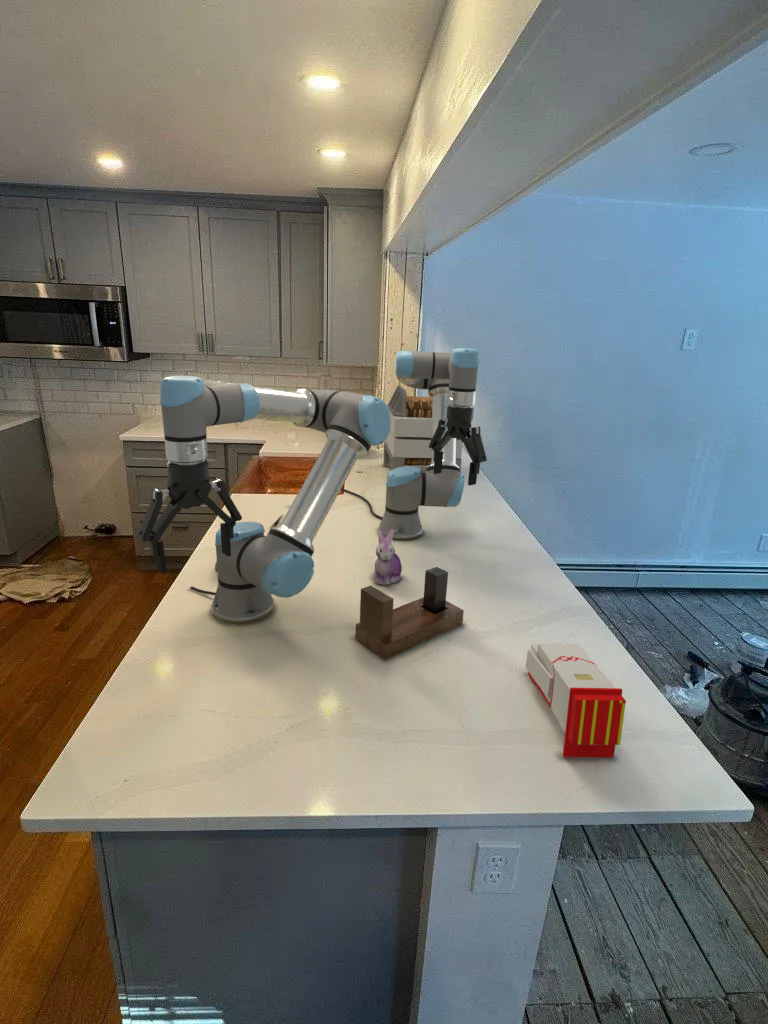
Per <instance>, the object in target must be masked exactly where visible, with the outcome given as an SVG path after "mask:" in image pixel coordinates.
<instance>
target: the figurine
mask: <svg viewBox="0 0 768 1024" xmlns="http://www.w3.org/2000/svg"><path fill="white" fill-rule="evenodd" d="M393 533H394V531H393V529H391V530H390V531H389V533H388V534H387V536H384V534H383V532H382V531H381V530H380V531H379V530H378V533H377V536H378V544H377V546H376V549H375V554H376V555H375V556H376V557H377V558H376V560H375V562H374V573H373V579H374V582H375V584H379V585H384V586H387V585H389V584H395V583H397V582H398V581H399V580H400V579H401V576H402V575H401V574H402V569H403V567H402V562H401V558H400V557H399V555H398V554H397V553H396V548H395V547H394V544H393V539H392V538H393Z"/></svg>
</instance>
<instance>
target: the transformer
mask: <svg viewBox="0 0 768 1024" xmlns="http://www.w3.org/2000/svg"><path fill="white" fill-rule="evenodd" d="M407 394H408V393H407V390H406V389H404V388H403V387H402V385H399V384H398V385H397V386H396V388H395V390H394V392H393V394H392V395H391V398H390V400H389V402H388V404H386V405H387V406H388V408H389V411H390V419H391V427H390V431H389V434H388V437H387V439H386V440H385V441H384V442H383V466H384V467H388V468H389V472H390V471H391V470H392V469H395V468H398V467H405V466H413V467H428V466H429V465H430V464H431V448H429V444H430V442H431V440H432V398H431V397H430V396H415V395H414V396H413V395H412V396H411V395H407ZM463 444H464V443H463V442H462V441H461V440H458V439H456V465H457V466H458V467H459V468H460V474H461V473H462V461H463V460H462V453H463Z"/></svg>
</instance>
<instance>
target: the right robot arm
mask: <svg viewBox="0 0 768 1024" xmlns="http://www.w3.org/2000/svg"><path fill="white" fill-rule="evenodd" d="M479 365H480V351H479V350H478V349H477V348H471V347H469V348H468V347H455V348H453V349H452V350H451V352H442V351H441V352H437V351H415V350H399V351H398V352H396V358H395V376H396V378H397V380H398V382H400V384H402V385H405V386H407V387H408V388H413V389H417V390H427V391H428V392H427V393H428V395H427V396H428V397H431V398H432V440H431V442H430V444H429V448H431V464H430V465H428V466H426V472H424V471H423V472H422V469H421V468H420V467H419V466H407V465H404V467H398V468H395V469H392V470H391V471H390V470H389V471H388V473H387V475H386V482H385V486H386V488H385V489H386V490H385V504H384V505H385V507H384V508H385V509H384V513H383V515H382V516H380V515H378V514H376V513H375V512H374V511H373V507H372V504H371V503H370V501H369V500H368V499H367V498H365V497H364V496H362V495H360V494H358V493H356V492H353V491H351V490H348V489H345V488H343V487H342V488H341V490H340V491H343V492H346V493H348V494H351V495H353V496H356V497H358V498H360V499H362V500H363V501H364V502H366V504H367V505H368V507H369V511H370V513H371V515H372V516H374V517H376V518H378V519H380V520H381V522H379V525H378V532H379V531H380V530H381V531H382V532H383V534H384V536H387V534H388V533H389V531H390V530H391V529H393V531H394V533H393V538H392V540H395V541H410V540H415V539H418V538H420V537H421V536H422V535H423V525H422V524H421V518H420V515H419V507H436V508H437V507H438V508H455V507H457V506H459V505H460V503H461V501H462V498H463V493H464V488H465V480H466V479H465V474H464V473H462V472H461V474H460V468H459V467H458V466H457V465H456V439H458V440H461V441H462V442H463V443H462V444H463V445H464V447H465V449H466V451H467V454H468V455H469V458H470V459H471V462H469V467H468V468H469V470H468V479H467V486H475V485H477V478H478V475H479V473H480V468H481V463H485V462H487V461H488V458H487V454H486V450H485V447H484V443H483V440H482V435H481V427H480V426H472V422H473V420H474V415H475V408H474V407H473V406H475V404H476V395H477V394H476V392H477V381H478V373H479Z"/></svg>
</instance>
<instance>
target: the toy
mask: <svg viewBox="0 0 768 1024" xmlns="http://www.w3.org/2000/svg"><path fill="white" fill-rule="evenodd" d="M525 669H526V671H527V675H528V676H529V678H530V680H531V681H532V683H533V684H534V685H535V687H536V688H537V690H538V692H539V693H540V694H541V696H542V698H543V699H544V701H545V702H546V703H547V705H548V707H549V708H550V710H551V711H552V714H554V717H555V719H556V720H557V722H558V724H559V725H560V727H561V729H562V731H563V732H564V740H563V747H562V757H563V758H594V759H595V758H599V759H601V758H603V759H604V758H607V759H614V757H615V751H616V746H621V740H622V733H623V725H624V719H625V717H624V716H625V710H626V703H627V700H626V699H625V697H624V696H623V689H622V688H619V687H615V686H614V685H613V683H612V682H611V681H610V680H609V679H608V677H607V676H606V675H605V673H604V672H603V671H602V670H601V669H600V668H599V667H598V666H597V664H596V663H595V662H594V661H593V660H592V658H591V657H590V656H589V655H588V653H586V651H585V650H584V649H583V648H582V646H581V645H580V644H579V643H559V642H558V643H554V642H553V643H552V642H537V643H532V644H531V649H530V648H528V649H527V653H526V661H525Z"/></svg>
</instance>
